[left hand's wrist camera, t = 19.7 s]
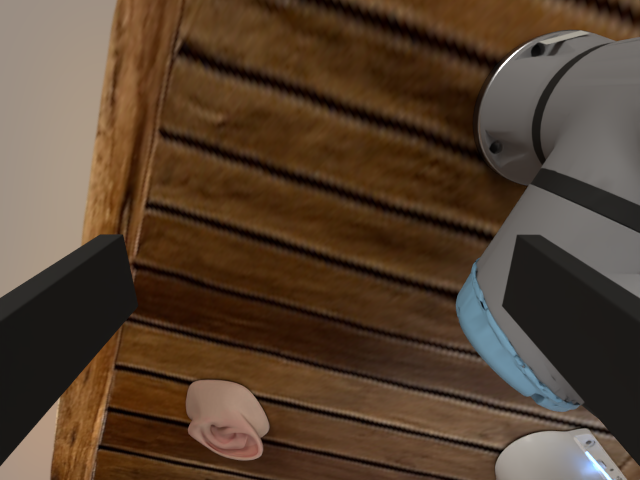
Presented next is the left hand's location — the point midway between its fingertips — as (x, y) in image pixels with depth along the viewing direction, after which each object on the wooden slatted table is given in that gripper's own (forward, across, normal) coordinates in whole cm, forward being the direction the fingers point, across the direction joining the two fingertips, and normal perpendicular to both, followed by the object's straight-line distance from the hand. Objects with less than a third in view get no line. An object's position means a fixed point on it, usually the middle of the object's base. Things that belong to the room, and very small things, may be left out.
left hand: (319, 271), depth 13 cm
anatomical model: (+31, -14, -39) cm, 52 cm away
